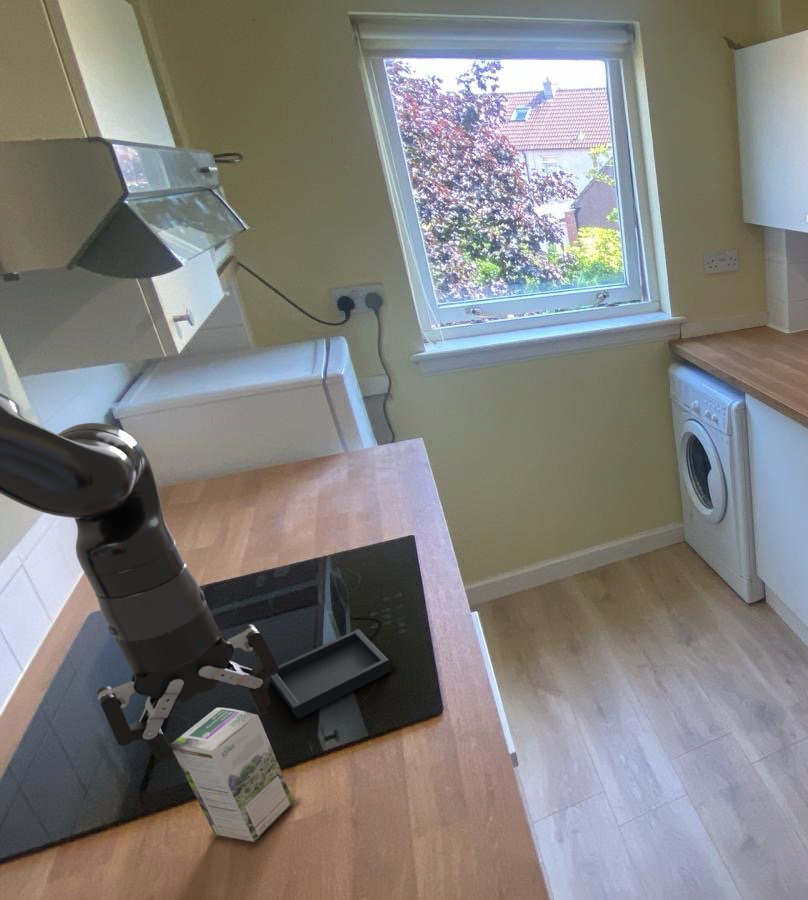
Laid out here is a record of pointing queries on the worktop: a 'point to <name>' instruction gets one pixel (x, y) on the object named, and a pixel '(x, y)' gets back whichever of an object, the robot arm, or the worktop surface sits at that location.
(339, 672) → the tray
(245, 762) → the syrup box
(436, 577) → the worktop surface
